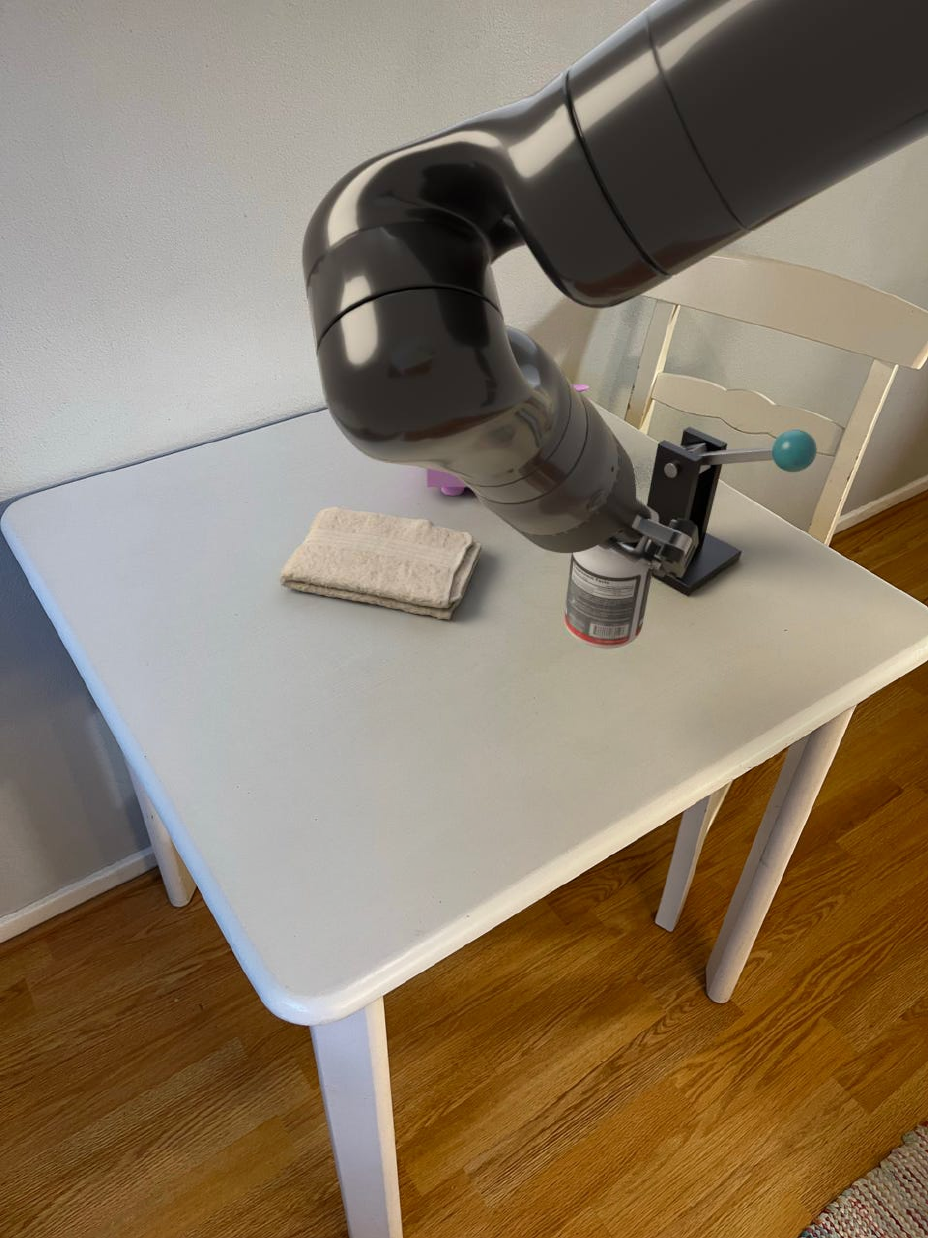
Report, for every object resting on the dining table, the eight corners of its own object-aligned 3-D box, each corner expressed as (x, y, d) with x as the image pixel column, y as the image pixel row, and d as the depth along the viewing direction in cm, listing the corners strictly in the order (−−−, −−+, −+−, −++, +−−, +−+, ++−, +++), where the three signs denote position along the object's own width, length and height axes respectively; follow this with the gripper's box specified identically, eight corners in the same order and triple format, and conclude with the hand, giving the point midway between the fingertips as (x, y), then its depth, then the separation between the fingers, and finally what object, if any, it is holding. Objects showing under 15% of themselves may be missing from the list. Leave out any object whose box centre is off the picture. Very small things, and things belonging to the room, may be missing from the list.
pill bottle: (596, 592, 69) (613, 480, 63) (656, 627, 66) (680, 514, 60) (547, 625, 66) (559, 511, 60) (607, 663, 63) (627, 548, 57)
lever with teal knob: (828, 462, 77) (820, 421, 76) (806, 477, 75) (798, 435, 74) (692, 472, 88) (684, 436, 87) (670, 485, 86) (661, 449, 85)
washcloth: (457, 625, 83) (457, 599, 81) (275, 593, 86) (271, 567, 84) (485, 552, 92) (486, 527, 90) (319, 525, 95) (317, 500, 93)
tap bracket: (739, 560, 92) (770, 449, 84) (687, 596, 87) (714, 483, 79) (653, 515, 98) (674, 407, 90) (600, 547, 93) (616, 436, 85)
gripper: (702, 444, 45) (744, 533, 60) (470, 366, 51) (561, 465, 66) (637, 579, 45) (695, 635, 60) (413, 485, 51) (517, 556, 66)
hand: (624, 545), depth 63 cm, fingers closed on pill bottle, 5 cm apart
